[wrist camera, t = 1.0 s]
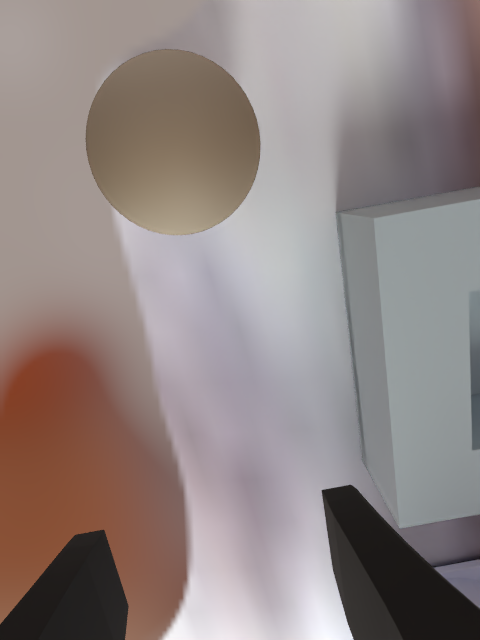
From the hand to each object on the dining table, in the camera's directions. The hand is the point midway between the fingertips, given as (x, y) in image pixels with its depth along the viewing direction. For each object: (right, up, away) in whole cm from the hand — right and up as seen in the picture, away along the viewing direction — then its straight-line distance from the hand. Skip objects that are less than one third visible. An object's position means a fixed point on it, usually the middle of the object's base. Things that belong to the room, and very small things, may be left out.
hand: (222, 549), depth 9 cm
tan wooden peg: (-1, +10, +7) cm, 12 cm away
